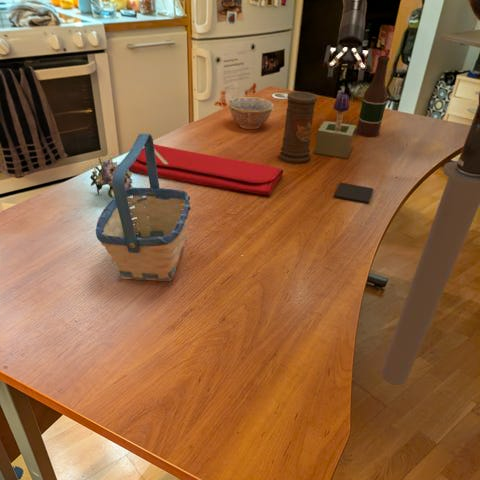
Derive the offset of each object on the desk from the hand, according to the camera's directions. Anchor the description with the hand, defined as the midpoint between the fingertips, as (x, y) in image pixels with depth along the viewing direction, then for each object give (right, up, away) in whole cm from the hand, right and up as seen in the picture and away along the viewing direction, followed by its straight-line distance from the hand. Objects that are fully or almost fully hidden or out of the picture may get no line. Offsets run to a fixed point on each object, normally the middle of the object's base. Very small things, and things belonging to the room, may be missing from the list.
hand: (344, 81), depth 140 cm
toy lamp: (-2, -18, +8) cm, 20 cm away
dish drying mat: (-42, -32, -11) cm, 53 cm away
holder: (-2, -18, +8) cm, 20 cm away
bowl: (-29, -4, +23) cm, 37 cm away
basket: (-51, -62, -46) cm, 92 cm away
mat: (-1, -39, -16) cm, 42 cm away
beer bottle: (+13, -7, +22) cm, 27 cm away
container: (-15, -23, +2) cm, 28 cm away
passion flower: (-64, -42, -24) cm, 80 cm away
